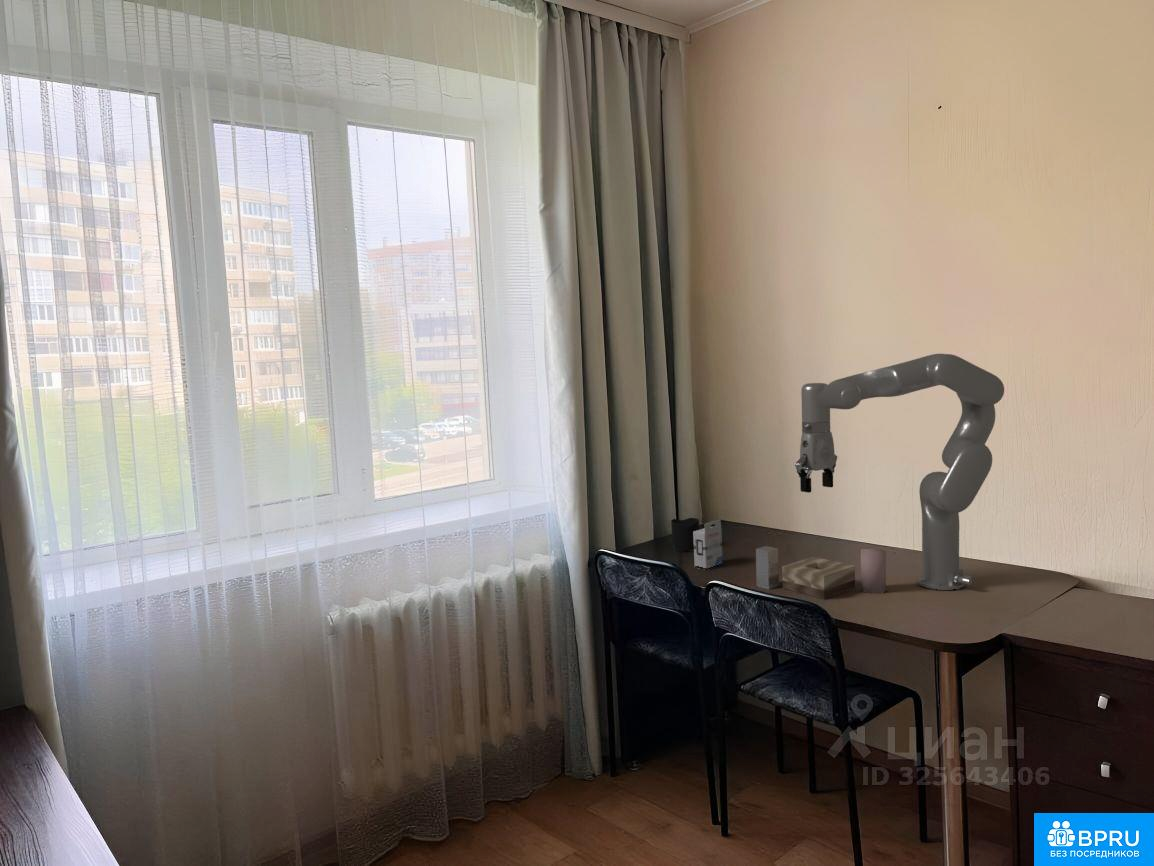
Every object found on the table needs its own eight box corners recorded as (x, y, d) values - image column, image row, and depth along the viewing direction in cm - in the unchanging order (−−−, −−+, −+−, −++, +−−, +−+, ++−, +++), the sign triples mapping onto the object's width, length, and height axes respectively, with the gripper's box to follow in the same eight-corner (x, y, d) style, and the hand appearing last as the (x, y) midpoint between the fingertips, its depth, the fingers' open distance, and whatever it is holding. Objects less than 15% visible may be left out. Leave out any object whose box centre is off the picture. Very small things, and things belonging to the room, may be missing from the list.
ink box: (710, 561, 270) (709, 516, 269) (723, 564, 267) (721, 518, 265) (693, 567, 265) (692, 521, 263) (706, 570, 261) (704, 523, 259)
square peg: (778, 586, 242) (778, 548, 240) (768, 589, 239) (767, 551, 238) (766, 583, 245) (765, 546, 244) (756, 586, 242) (755, 548, 241)
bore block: (855, 588, 236) (854, 565, 236) (824, 599, 228) (823, 576, 227) (813, 578, 247) (813, 556, 247) (782, 588, 239) (782, 566, 238)
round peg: (890, 590, 233) (890, 551, 232) (877, 595, 230) (876, 555, 228) (869, 585, 239) (869, 547, 237) (856, 590, 235) (855, 551, 233)
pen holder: (680, 544, 294) (679, 516, 293) (704, 547, 289) (703, 518, 288) (667, 550, 287) (666, 522, 285) (691, 554, 281) (690, 524, 280)
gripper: (807, 432, 224) (808, 495, 226) (846, 425, 235) (847, 486, 237) (784, 430, 230) (786, 492, 232) (824, 424, 241) (824, 483, 243)
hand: (817, 489), depth 235 cm, fingers open, 9 cm apart
